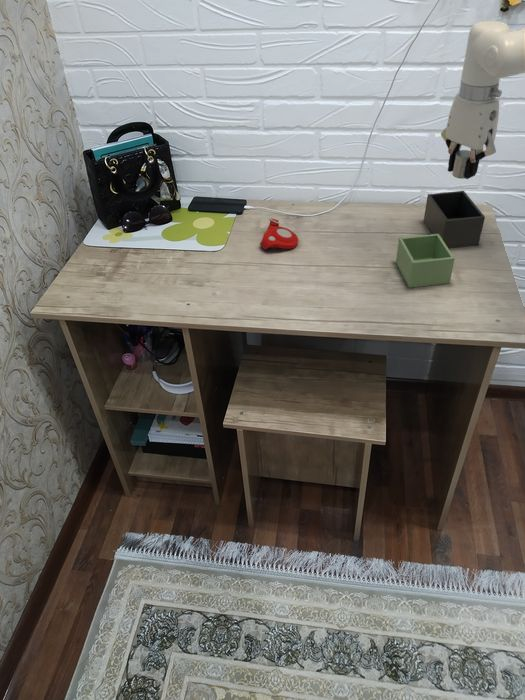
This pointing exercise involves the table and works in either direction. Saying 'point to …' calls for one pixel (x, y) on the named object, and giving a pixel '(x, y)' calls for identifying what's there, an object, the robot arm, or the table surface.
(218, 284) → the table surface
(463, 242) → the right bin
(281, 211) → the table surface
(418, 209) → the table surface
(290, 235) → the tracker holder
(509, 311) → the table surface
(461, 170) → the steel cylinder
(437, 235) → the left bin
